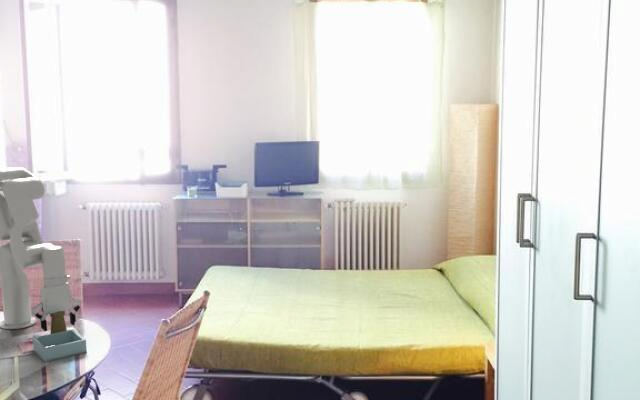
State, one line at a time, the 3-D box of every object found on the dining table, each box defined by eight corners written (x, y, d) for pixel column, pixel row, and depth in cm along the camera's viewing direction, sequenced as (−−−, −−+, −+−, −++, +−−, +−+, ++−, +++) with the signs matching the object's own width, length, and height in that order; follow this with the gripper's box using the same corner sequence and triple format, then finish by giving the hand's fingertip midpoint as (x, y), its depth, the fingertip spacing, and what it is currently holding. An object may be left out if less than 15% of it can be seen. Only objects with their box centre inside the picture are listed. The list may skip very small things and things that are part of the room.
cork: (61, 340, 237) (59, 310, 236) (46, 339, 239) (44, 309, 237) (71, 334, 243) (69, 305, 242) (56, 333, 245) (54, 304, 243)
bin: (33, 350, 228) (32, 337, 227) (74, 341, 236) (73, 329, 236) (44, 362, 217) (43, 349, 217) (86, 352, 225) (85, 339, 225)
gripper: (76, 274, 246) (79, 319, 248) (26, 283, 236) (30, 330, 238) (82, 278, 240) (86, 324, 242) (32, 287, 230) (36, 335, 232)
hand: (58, 327), depth 240 cm, fingers open, 9 cm apart
